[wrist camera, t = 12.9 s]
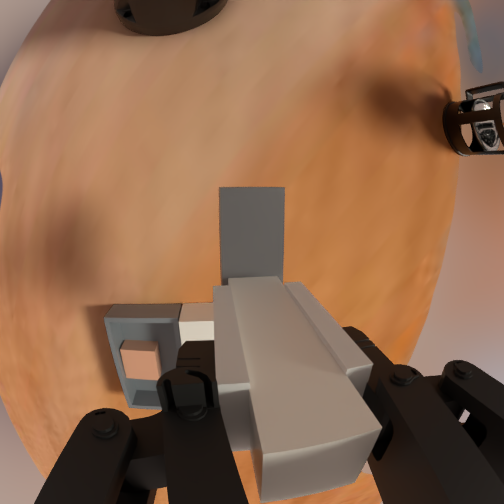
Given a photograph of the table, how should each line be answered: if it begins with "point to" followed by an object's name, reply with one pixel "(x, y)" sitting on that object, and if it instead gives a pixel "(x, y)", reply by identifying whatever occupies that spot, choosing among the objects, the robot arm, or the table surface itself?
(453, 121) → the french press
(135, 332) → the box
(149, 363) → the tile
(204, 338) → the plate
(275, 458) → the scraper
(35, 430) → the table surface
